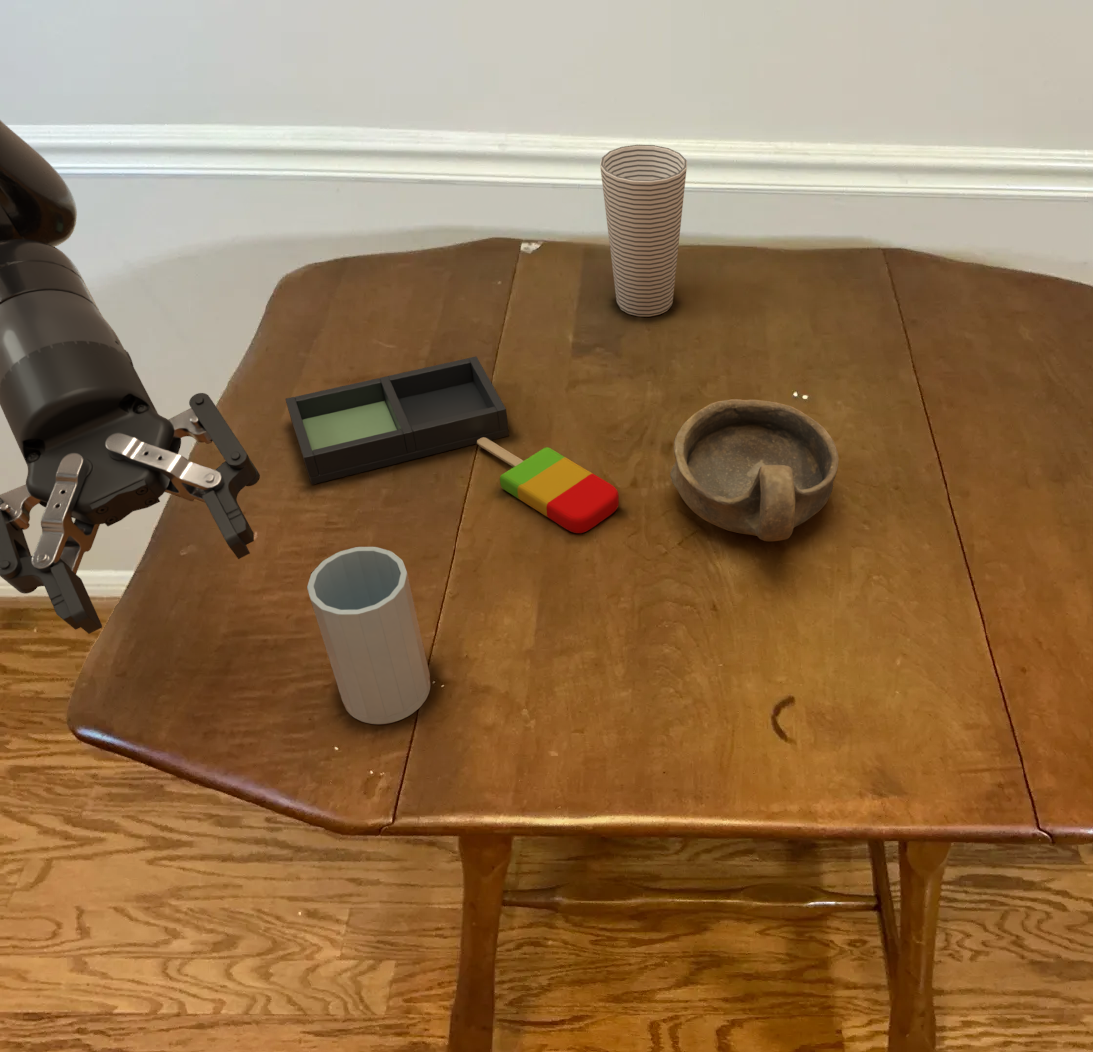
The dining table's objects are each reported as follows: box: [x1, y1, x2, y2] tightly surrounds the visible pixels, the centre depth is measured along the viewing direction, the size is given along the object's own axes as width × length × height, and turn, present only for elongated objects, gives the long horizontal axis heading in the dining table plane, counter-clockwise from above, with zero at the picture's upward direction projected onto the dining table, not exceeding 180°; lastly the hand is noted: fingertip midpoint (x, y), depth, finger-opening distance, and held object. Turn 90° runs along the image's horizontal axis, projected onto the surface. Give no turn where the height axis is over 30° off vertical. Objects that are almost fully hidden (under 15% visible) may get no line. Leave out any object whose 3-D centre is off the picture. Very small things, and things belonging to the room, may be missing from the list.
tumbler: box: [306, 546, 431, 725], centre depth 71 cm, size 6×6×11 cm
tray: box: [285, 355, 510, 485], centre depth 96 cm, size 17×9×3 cm, turn 115°
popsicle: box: [476, 437, 620, 534], centre depth 91 cm, size 6×15×2 cm, turn 50°
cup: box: [599, 144, 688, 317], centre depth 109 cm, size 8×8×16 cm
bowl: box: [669, 398, 840, 542], centre depth 86 cm, size 14×18×10 cm
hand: (166, 587), depth 59 cm, fingers open, 8 cm apart
